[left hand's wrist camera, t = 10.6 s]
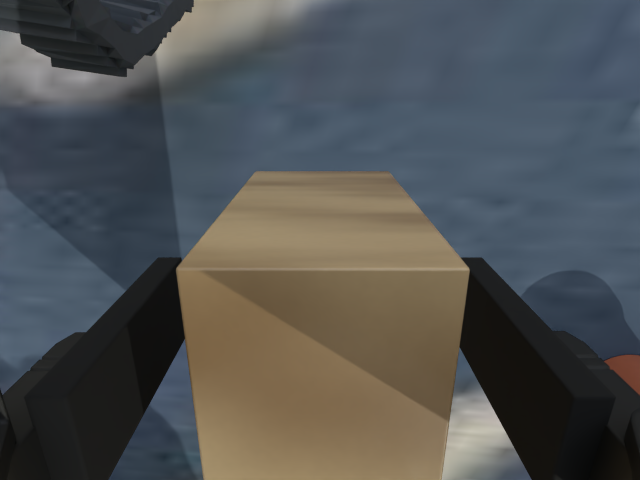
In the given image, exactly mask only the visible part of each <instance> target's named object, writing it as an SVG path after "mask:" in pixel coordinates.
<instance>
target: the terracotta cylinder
mask: <svg viewBox="0 0 640 480" xmlns="http://www.w3.org/2000/svg"><path fill="white" fill-rule="evenodd" d="M604 362H605V363H606V364H607V365H609V366H610V370H614V371H615V372H616V373H617V374H618V375H619V376H620V377H621V378H622V379H623V380H624V381H625V382H626V383H627V384H628V385H629V386H631V387H632V388H633V389H634V390H635V391H636V392H637V393H638V394H639V395H640V356H639V355H621V356H616V357H613V358H610V359H607V360H605V361H604Z"/></svg>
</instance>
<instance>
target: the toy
mask: <svg viewBox="0 0 640 480" xmlns="http://www.w3.org/2000/svg"><path fill="white" fill-rule="evenodd" d="M193 6H194V0H0V30H4V31H9V32H15V33H20V38H21V44H23V45H25V46H28V47H30V48H32V49H34V50H35V51H37V52H39V53H41V54H44V55H46V56H48V57H51V63H52V67H58V68H65V69H72V70H79V71H86V72H92V73H99V74H106V75H113V76H120V77H127V68H129V69H134V65H135V64H136V63H137V62H138V61H139V60H140V59H141V58H142V57H143V56H144V55H148V56H152V55H153V53H154V52H155V51H156V50H157V48H158V47H159V45H160V43H161V44H162V39H163V38H164V37H165V38H167V33H168V32H171V28H172V26H174V25H175V24H176V23H177V22H178V21H180V20H181V18H182V16H183V14H184V12H191V13H192V7H193Z"/></svg>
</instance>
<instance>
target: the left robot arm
mask: <svg viewBox="0 0 640 480" xmlns="http://www.w3.org/2000/svg"><path fill="white" fill-rule="evenodd" d="M461 259H462V260H463V261H464V263H465V264H466V265H467V266H468V267H469V270H470V272H469V279H468V287H467V294H466V302H465V309H464V316H463V324H462V331H461V338H460V346H459V347H460V348H461V350H462V352H463V354H464V356H465V358H466V360H467V361H468V363H469V365H470V367H471V369H472V371H473V372H474V374H475V376H476V378H477V380H478V382H479V383H480V385H481V387H482V389H483V391H484V393H485V394H486V396H487V398H488V400H489V402H490V404H491V406H492V407H493V409H494V411H495V413H496V415H497V417H498V418H499V420H500V422H501V424H502V426H503V428H504V429H505V431H506V433H507V435H508V437H509V439H510V440H511V442H512V444H513V446H514V448H515V450H516V452H517V453H518V455H519V457H520V459H521V461H522V463H523V464H524V466H525V468H526V470H527V472H528V474H529V475H530V477H531V479H532V480H640V395H639V394H638V393H637V392H636V391H635V390H634V389H633V388H632V387H631V386H629V385H628V384H627V383H626V382H625V381H624V380H623V379H622V378H621V377H620V376H619V375H618V374H617V373H616V372H615V371H614V370H610V366H609V365H607V364H606V363H605V362H604V361H603V360H602V359H601V358H598V355H597V354H596V353H595V352H594V351H593V350H592V349H591V348H590V347H589V346H588V345H587V344H585V343H584V342H583V341H581V340H579V339H578V338H576V337H574V336H572V335H571V334H569V333H567V332H565V331H552V330H551V329H550V328H549V327H548V326H547V325H546V324H545V323H544V322H543V321H542V320H541V319H540V318H539V317H538V315H537V314H536V313H535V312H534V311H533V310H532V309H531V308H530V307H529V306H528V305H527V304H526V303H525V302H524V301H523V300H522V299H521V298H520V297H519V296H518V295H517V294H516V293H515V292H514V291H513V290H512V289H511V287H510V286H509V285H508V284H507V283H506V282H505V281H504V280H503V279H502V278H501V277H500V276H499V275H498V274H497V273H496V272H495V271H494V270H493V269H492V268H491V267H490V266H489V265H488V264H487V263H486V262H485V261H484V259H483V258H461ZM181 262H182V260H181V258H157V259H156V261H155V262H154V263H153V264H152V265H151V266H150V267H149V268H148V269H147V270H146V271H145V272H144V273H143V274H142V275H141V276H140V277H139V278H138V279H137V280H136V281H135V282H134V283H133V284H132V285H131V286H130V287H129V289H128V290H127V291H126V292H125V293H124V294H123V295H122V296H121V297H120V298H119V299H118V300H117V301H116V302H115V303H114V304H113V305H112V306H111V307H110V308H109V309H108V310H107V311H106V312H105V313H104V314H103V315H102V317H101V318H100V319H99V320H98V321H97V322H96V323H95V324H94V325H93V326H92V327H91V328H90V329H89V330H88V331H87V332H76V333H74V334H72V335H70V336H69V337H67V338H65V339H63V340H62V341H60V342H58V343H57V344H55V345H54V346H53V347H52V348H51V349H50V350H49V351H48V352H47V353H46V354H45V355H44V356H43V357H42V360H39V361H38V362H37V363H36V364H35V365H33V366H32V367H31V370H30V371H27V372H26V373H25V374H24V375H23V376H22V377H21V378H20V379H19V380H18V381H17V382H16V383H15V384H14V385H13V386H12V387H11V388H10V389H9V390H7V391H6V392H5V393H4V394H3V395H2V393H1V390H0V480H108V479H109V477H110V475H111V474H112V472H113V470H114V468H115V466H116V464H117V463H118V461H119V459H120V457H121V455H122V453H123V452H124V450H125V448H126V446H127V444H128V442H129V441H130V439H131V437H132V435H133V433H134V431H135V429H136V428H137V426H138V424H139V422H140V420H141V418H142V417H143V415H144V413H145V411H146V409H147V407H148V406H149V404H150V402H151V400H152V398H153V396H154V394H155V393H156V391H157V389H158V387H159V385H160V383H161V382H162V380H163V378H164V376H165V374H166V372H167V371H168V369H169V367H170V365H171V363H172V361H173V360H174V358H175V356H176V354H177V352H178V350H179V348H180V347H181V345H182V343H183V341H184V339H185V335H184V327H183V320H182V312H181V304H180V297H179V289H178V282H177V274H176V268H177V267H178V265H179V264H180V263H181Z"/></svg>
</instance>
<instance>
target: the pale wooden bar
mask: <svg viewBox="0 0 640 480" xmlns="http://www.w3.org/2000/svg"><path fill="white" fill-rule="evenodd" d="M469 272H470V270H469V267H468V266H467V265H466V264H465V263H464V261H463V260H462V259H461V258H460V257H459V255H458V254H457V253H456V252H455V251H454V249H453V248H452V247H451V246H450V245H449V243H448V242H447V241H446V240H445V238H444V237H443V236H442V235H441V234H440V232H439V231H438V230H437V229H436V228H435V226H434V225H433V224H432V223H431V222H430V220H429V219H428V218H427V217H426V216H425V214H424V213H423V212H422V211H421V210H420V208H419V207H418V206H417V205H416V204H415V202H414V201H413V200H412V199H411V198H410V196H409V195H408V194H407V193H406V192H405V190H404V189H403V188H402V187H401V186H400V184H399V183H398V182H397V181H396V180H395V178H394V177H393V176H392V175H391V174H390V172H388V171H256V172H255V173H254V174H253V175H252V176H251V178H250V179H249V180H248V181H247V183H246V184H245V185H244V186H243V187H242V189H241V190H240V191H239V192H238V194H237V195H236V196H235V197H234V198H233V200H232V201H231V202H230V203H229V205H228V206H227V207H226V208H225V209H224V211H223V212H222V213H221V214H220V215H219V217H218V218H217V219H216V220H215V222H214V223H213V224H212V225H211V226H210V228H209V229H208V230H207V231H206V233H205V234H204V235H203V236H202V237H201V239H200V240H199V241H198V242H197V244H196V245H195V246H194V247H193V248H192V250H191V251H190V252H189V253H188V255H187V256H186V257H185V258H184V259H183V261H182V262H181V263H180V264H179V265H178V267H177V268H176V274H177V282H178V289H179V297H180V304H181V312H182V320H183V327H184V335H185V342H186V350H187V358H188V365H189V373H190V380H191V388H192V396H193V403H194V411H195V418H196V426H197V434H198V441H199V449H200V456H201V464H202V471H203V479H204V480H441V479H442V471H443V464H444V457H445V449H446V442H447V434H448V427H449V420H450V412H451V405H452V398H453V390H454V383H455V375H456V368H457V361H458V353H459V346H460V338H461V331H462V324H463V316H464V309H465V302H466V294H467V287H468V279H469Z"/></svg>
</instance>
